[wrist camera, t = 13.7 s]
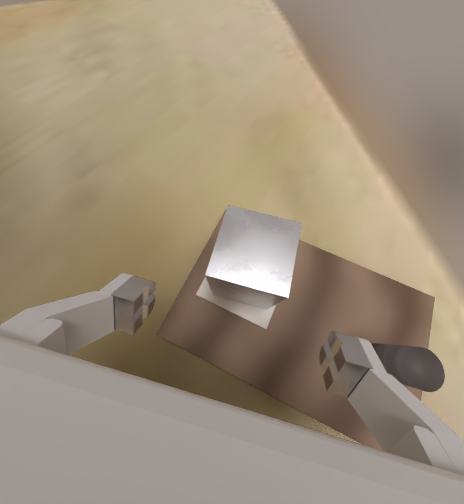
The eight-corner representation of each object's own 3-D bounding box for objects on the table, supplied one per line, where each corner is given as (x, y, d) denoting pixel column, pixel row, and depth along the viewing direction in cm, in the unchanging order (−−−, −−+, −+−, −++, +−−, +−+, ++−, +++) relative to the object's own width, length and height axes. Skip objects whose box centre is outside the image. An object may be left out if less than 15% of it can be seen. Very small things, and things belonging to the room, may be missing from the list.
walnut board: (161, 334, 20) (126, 335, 13) (226, 216, 25) (226, 169, 18) (396, 458, 17) (512, 545, 10) (421, 299, 22) (513, 284, 15)
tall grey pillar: (212, 295, 20) (205, 275, 13) (227, 246, 21) (227, 204, 14) (265, 309, 19) (288, 298, 12) (276, 259, 21) (301, 223, 14)
